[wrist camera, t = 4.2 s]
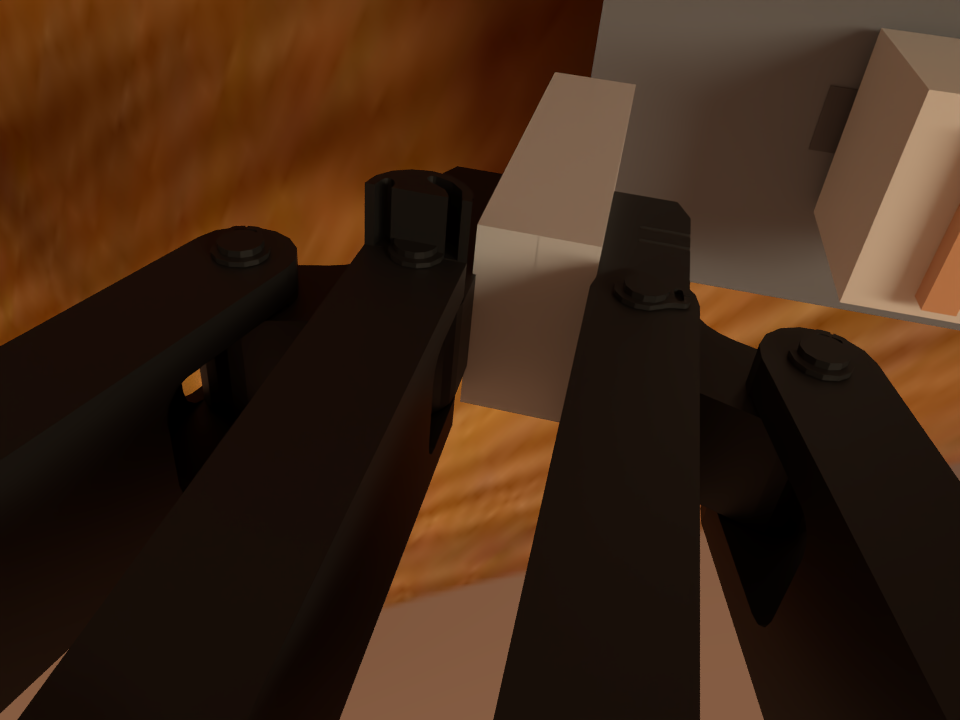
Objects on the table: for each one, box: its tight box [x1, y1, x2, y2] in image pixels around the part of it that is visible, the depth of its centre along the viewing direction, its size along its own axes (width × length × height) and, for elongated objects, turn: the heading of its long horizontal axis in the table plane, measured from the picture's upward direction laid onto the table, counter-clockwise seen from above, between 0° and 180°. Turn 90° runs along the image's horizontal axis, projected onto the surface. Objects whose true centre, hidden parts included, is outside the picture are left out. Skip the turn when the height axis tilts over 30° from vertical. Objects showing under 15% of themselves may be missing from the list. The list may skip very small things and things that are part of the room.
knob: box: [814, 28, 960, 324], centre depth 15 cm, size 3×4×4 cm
